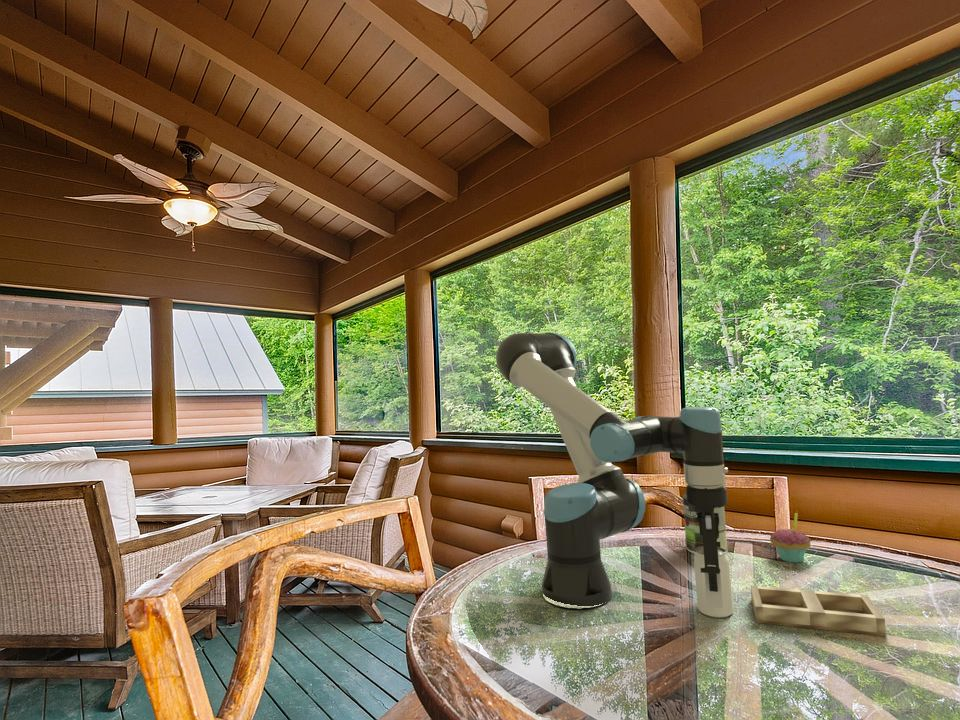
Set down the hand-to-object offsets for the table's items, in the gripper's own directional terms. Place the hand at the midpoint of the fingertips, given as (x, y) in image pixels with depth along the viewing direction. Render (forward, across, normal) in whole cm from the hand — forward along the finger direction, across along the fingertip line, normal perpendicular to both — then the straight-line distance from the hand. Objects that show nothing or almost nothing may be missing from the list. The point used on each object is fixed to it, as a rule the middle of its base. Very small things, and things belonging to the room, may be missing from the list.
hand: (713, 592), depth 104 cm
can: (+4, 0, 0) cm, 4 cm away
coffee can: (+4, +37, +1) cm, 37 cm away
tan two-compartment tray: (+4, +2, -17) cm, 17 cm away
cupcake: (+4, +34, -18) cm, 39 cm away
